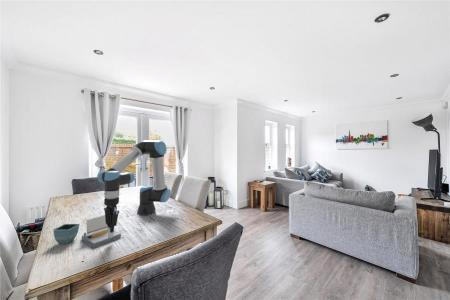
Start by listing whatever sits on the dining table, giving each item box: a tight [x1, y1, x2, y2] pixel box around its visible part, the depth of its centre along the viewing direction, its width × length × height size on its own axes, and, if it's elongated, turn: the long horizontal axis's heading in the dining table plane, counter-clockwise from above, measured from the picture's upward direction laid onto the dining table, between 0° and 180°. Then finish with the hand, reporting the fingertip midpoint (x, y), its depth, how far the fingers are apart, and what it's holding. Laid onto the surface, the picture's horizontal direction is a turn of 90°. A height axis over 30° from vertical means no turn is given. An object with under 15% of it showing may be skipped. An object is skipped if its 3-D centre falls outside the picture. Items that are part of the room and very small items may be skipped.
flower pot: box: [52, 223, 80, 244], centre depth 109 cm, size 9×9×9 cm
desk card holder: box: [81, 228, 122, 249], centre depth 114 cm, size 16×15×5 cm
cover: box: [86, 214, 108, 234], centre depth 117 cm, size 8×12×1 cm
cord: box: [91, 230, 108, 238], centre depth 115 cm, size 3×8×3 cm
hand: (110, 237), depth 108 cm, fingers closed
